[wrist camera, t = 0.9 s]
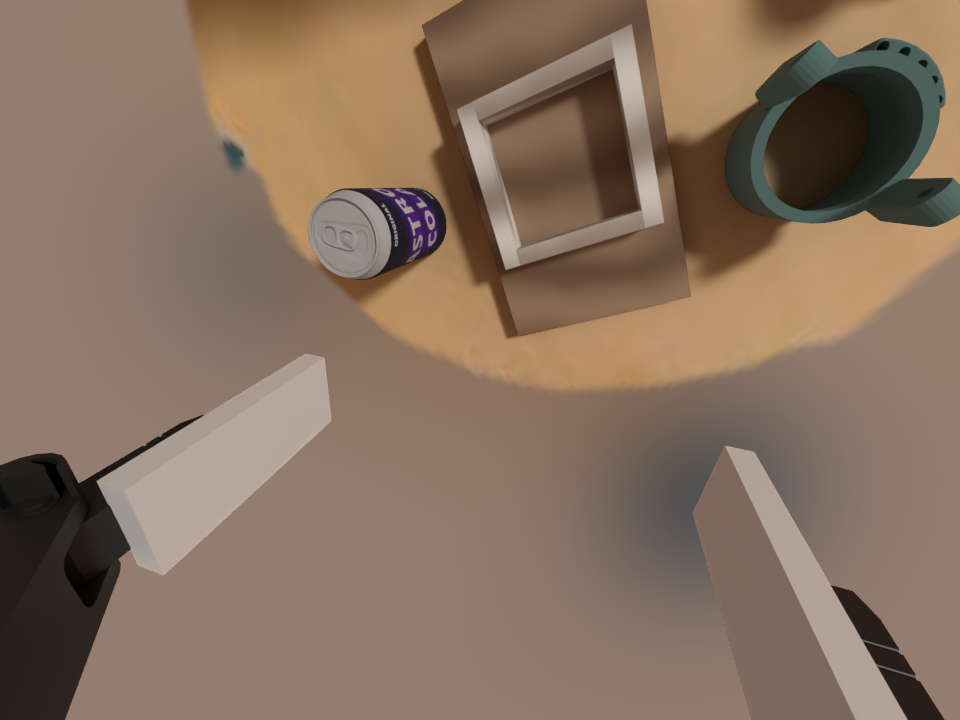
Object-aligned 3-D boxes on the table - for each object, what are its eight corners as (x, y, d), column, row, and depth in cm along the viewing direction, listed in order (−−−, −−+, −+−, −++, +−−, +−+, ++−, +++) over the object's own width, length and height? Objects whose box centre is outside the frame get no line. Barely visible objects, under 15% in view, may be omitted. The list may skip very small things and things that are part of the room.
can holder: (429, 32, 28) (406, 11, 25) (628, -85, 23) (634, -133, 20) (521, 330, 36) (513, 346, 32) (686, 292, 31) (698, 305, 27)
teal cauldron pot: (854, 217, 26) (967, 229, 18) (705, 217, 28) (749, 228, 20) (912, 55, 23) (1085, -18, 15) (736, 69, 25) (803, 13, 17)
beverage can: (444, 262, 35) (379, 294, 25) (388, 245, 36) (302, 270, 25) (455, 196, 33) (388, 202, 22) (394, 180, 33) (302, 178, 23)
